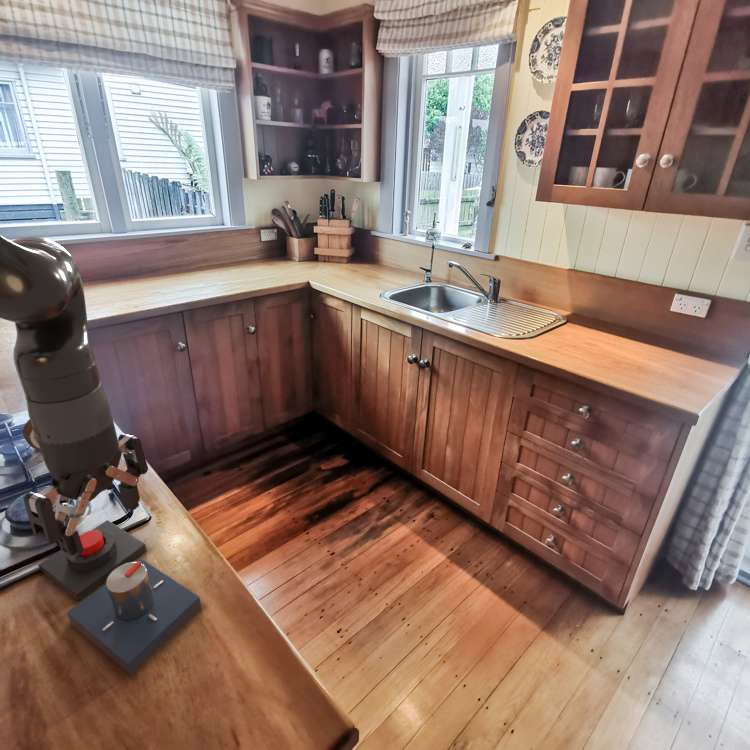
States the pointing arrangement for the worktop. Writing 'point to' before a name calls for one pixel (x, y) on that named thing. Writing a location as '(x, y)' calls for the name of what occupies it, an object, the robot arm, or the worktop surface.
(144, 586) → the knob
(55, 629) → the worktop surface
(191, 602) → the panel
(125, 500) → the robot arm
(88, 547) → the button
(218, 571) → the worktop surface
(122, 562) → the housing
